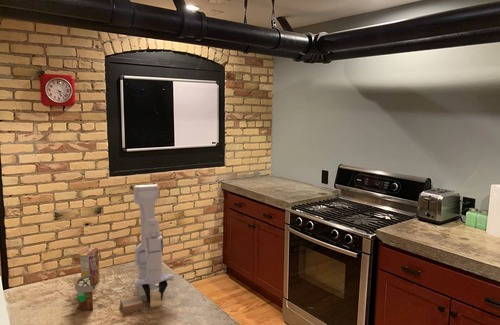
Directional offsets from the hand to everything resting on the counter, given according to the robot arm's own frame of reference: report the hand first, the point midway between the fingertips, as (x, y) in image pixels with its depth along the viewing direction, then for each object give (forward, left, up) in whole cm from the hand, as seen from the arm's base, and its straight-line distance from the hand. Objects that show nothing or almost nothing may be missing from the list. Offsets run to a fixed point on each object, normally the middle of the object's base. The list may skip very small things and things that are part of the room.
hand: (154, 300), depth 147 cm
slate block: (-8, 0, -2) cm, 8 cm away
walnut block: (-2, -8, -2) cm, 9 cm away
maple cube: (0, 0, -2) cm, 2 cm away
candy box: (-29, -20, -2) cm, 35 cm away
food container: (-11, -24, -2) cm, 27 cm away
